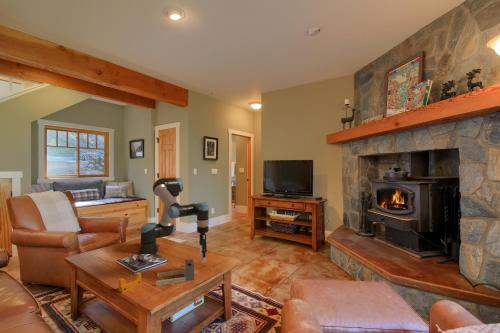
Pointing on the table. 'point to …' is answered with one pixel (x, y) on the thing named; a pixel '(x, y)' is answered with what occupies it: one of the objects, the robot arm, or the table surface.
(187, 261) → the unit housing
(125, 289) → the pipe clamp
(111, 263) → the table surface
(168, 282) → the frame
